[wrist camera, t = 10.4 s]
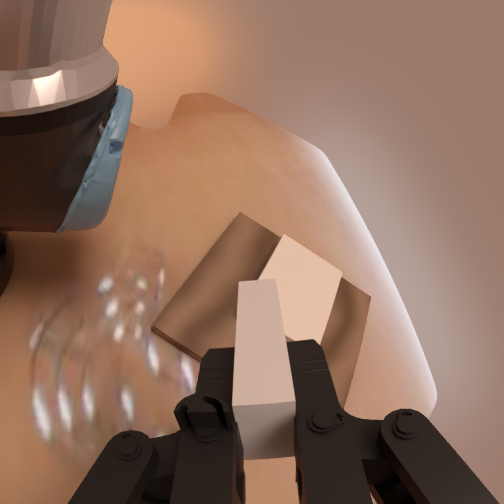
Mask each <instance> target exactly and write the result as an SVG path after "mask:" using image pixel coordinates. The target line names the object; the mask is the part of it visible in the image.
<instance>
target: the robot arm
mask: <svg viewBox="0 0 504 504" xmlns="http://www.w3.org/2000/svg"><path fill="white" fill-rule="evenodd" d="M111 3H112V0H0V296H1V294H2V293H3V291H4V289H5V287H6V285H7V283H8V280H9V278H10V274H11V271H12V265H13V249H12V245H11V241H10V239H9V236H8V233H7V231H27V232H54V233H61V232H63V231H73V230H89V229H92V228H95V227H97V226H98V225H99V224H100V223H101V222H102V221H103V220H104V218H105V216H106V215H107V212H108V209H109V206H110V203H111V199H112V195H113V192H114V187H115V183H116V179H117V175H118V170H119V166H120V161H121V154H122V153H121V150H122V148H123V146H124V140H125V137H126V134H127V130H128V126H129V120H130V116H131V111H132V104H133V93H132V92H131V90H130V89H127V88H124V86H121V85H117V86H116V83H117V77H118V72H119V66H118V63H117V61H116V60H115V59H114V57H113V56H112V55H111V54H110V53H109V52H108V50H107V49H106V48H105V47H104V46H103V38H104V33H105V28H106V24H107V19H108V15H109V11H110V7H111ZM174 414H175V417H176V419H177V421H178V424H179V426H180V428H181V430H179V431H177V432H176V433H173V434H170V435H166V436H162V437H157V438H152V439H150V438H149V437H148V436H147V435H146V434H144V433H142V432H140V431H133V430H130V431H124V432H121V433H119V434H117V435H115V436H114V437H113V438H112V439H111V440H110V441H109V442H108V443H107V445H106V446H105V448H104V449H103V451H102V452H101V454H100V455H99V457H98V459H97V460H96V462H95V463H94V465H93V466H92V468H91V469H90V471H89V472H88V474H87V475H86V477H85V478H84V480H83V481H82V483H81V484H80V486H79V487H78V489H77V491H76V492H75V494H74V495H73V497H72V498H71V500H70V501H69V503H68V504H245V473H244V469H243V463H244V460H255V459H270V458H282V457H292V456H295V459H296V482H297V487H298V496H299V504H373V502H372V498H371V494H372V496H373V498H374V499H375V501H376V502H377V504H499V503H498V501H497V500H496V499H495V498H494V497H493V496H492V494H491V493H490V492H489V491H488V490H487V488H486V487H485V486H484V484H483V483H482V482H481V481H480V480H479V479H478V477H477V476H476V475H475V474H474V473H473V471H472V470H471V469H470V468H469V467H468V465H467V464H466V463H465V462H464V461H463V460H462V458H461V457H460V456H459V455H458V454H457V453H456V451H455V450H454V449H453V448H452V447H451V445H450V444H449V443H448V442H447V441H446V440H445V438H444V437H443V436H442V435H441V434H440V433H439V432H438V430H437V429H436V428H435V427H434V426H433V425H432V423H431V422H430V421H429V420H428V419H427V418H426V417H425V416H424V415H423V414H421V413H420V412H418V411H415V410H412V409H399V410H395V411H392V412H391V413H390V414H388V415H387V416H386V417H385V418H384V420H369V419H361V418H357V417H354V416H351V415H350V414H348V413H347V412H345V411H344V409H343V408H342V407H341V405H340V403H339V401H338V397H337V394H336V390H335V387H334V384H333V380H332V377H331V374H330V370H329V367H328V364H327V361H326V357H325V354H324V351H323V348H322V347H321V346H320V345H319V344H318V343H317V342H316V341H315V340H314V339H308V340H300V341H290V342H286V338H285V332H284V326H283V320H282V314H281V308H280V302H279V297H278V291H277V285H276V279H264V280H252V281H241V282H239V287H238V304H237V321H236V339H235V347H228V348H210V349H209V350H208V351H207V352H206V353H205V355H204V356H203V357H202V359H201V364H200V372H199V375H198V381H197V387H196V393H195V394H192V395H190V396H188V397H185V398H184V399H182V400H181V401H180V402H179V403H178V404H177V406H176V408H175V410H174ZM370 493H371V494H370Z"/></svg>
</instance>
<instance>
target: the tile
mask: <svg viewBox="0 0 504 504" xmlns="http://www.w3.org/2000/svg"><path fill="white" fill-rule="evenodd" d="M341 276H342V272H341V271H340V270H338V269H337V268H335V267H334V266H332V265H331V264H329V263H328V262H326V261H325V260H323V259H322V258H320V257H319V256H317V255H316V254H314V253H312V252H311V251H309V250H308V249H306V248H305V247H303V246H302V245H300V244H299V243H297V242H296V241H294V240H292V239H291V238H289V237H288V236H286V235H285V234H284V235H283V236H282V237H281V239H280V240H279V242H278V243H277V245H276V247H275V248H274V250H273V252H272V254H271V256H270V257H269V259H268V261H267V263H266V264H265V266H264V268H263V270H262V271H261V273H260V275H259V277H258V278H257V280H264V279H276V285H277V291H278V297H279V302H280V308H281V314H282V320H283V326H284V332H285V338H286V342H290V341H300V340H308V339H314V340H315V341H316V342H317V343H318V344H319V345H320V343H321V340H322V337H323V334H324V331H325V328H326V325H327V322H328V319H329V316H330V312H331V309H332V306H333V303H334V300H335V296H336V293H337V290H338V286H339V283H340V279H341ZM236 317H237V315H236Z"/></svg>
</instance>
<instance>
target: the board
mask: <svg viewBox="0 0 504 504" xmlns="http://www.w3.org/2000/svg"><path fill="white" fill-rule="evenodd" d="M280 239H281V238H280V237H279V236H277V235H276V234H274V233H273V232H271V231H269V230H268V229H266V228H265V227H263V226H262V225H260V224H258V223H257V222H255V221H254V220H252V219H250V218H249V217H247V216H246V215H244V214H243V213H241V212H240V213H239V214H238V215H237V217H236V218H235V219H234V220H233V222H232V223H231V224H230V225H229V227H228V228H227V229H226V231H225V232H224V233H223V234H222V236H221V237H220V238H219V239H218V241H217V242H216V243H215V244H214V246H213V247H212V248H211V250H210V251H209V252H208V253H207V255H206V256H205V257H204V259H203V260H202V261H201V262H200V264H199V265H198V266H197V268H196V269H195V270H194V272H193V273H192V274H191V275H190V277H189V278H188V279H187V281H186V282H185V283H184V285H183V286H182V287H181V289H180V290H179V291H178V292H177V294H176V295H175V296H174V298H173V299H172V300H171V302H170V303H169V304H168V306H167V307H166V308H165V310H164V311H163V312H162V314H161V315H160V316H159V318H158V319H157V320H156V322H155V323H154V324H153V327H152V331H153V332H155V333H156V334H158V335H159V336H161V337H162V338H164V339H165V340H167V341H168V342H170V343H171V344H173V345H174V346H176V347H177V348H179V349H180V350H182V351H183V352H185V353H187V354H188V355H190V356H191V357H193V358H195V359H196V360H198V361H199V362H201V359H202V357H203V356H204V355H205V353H206V352H207V351H208V350H209V349H210V348H228V347H235V339H236V321H237V317H236V315H237V304H238V287H239V282H241V281H252V280H257V278H258V277H259V275H260V273H261V271H262V270H263V268H264V266H265V264H266V263H267V261H268V259H269V257H270V256H271V254H272V252H273V250H274V248H275V247H276V245H277V243H278V242H279V240H280ZM370 300H371V297H370V296H369V295H367V294H366V293H364V292H363V291H361V290H360V289H358V288H357V287H355V286H354V285H352V284H351V283H349V282H348V281H346V280H345V279H343V278H342V277H341V279H340V283H339V286H338V290H337V293H336V296H335V300H334V303H333V306H332V309H331V312H330V316H329V319H328V322H327V325H326V328H325V331H324V334H323V337H322V340H321V343H320V346H321V347H322V348H323V351H324V354H325V357H326V361H327V364H328V367H329V370H330V374H331V377H332V380H333V384H334V387H335V390H336V394H337V397H338V401H339V403H340V405H341V407H342V408H343V409H344V406H345V402H346V399H347V396H348V392H349V389H350V385H351V381H352V378H353V374H354V370H355V366H356V363H357V359H358V355H359V350H360V346H361V342H362V338H363V333H364V329H365V324H366V319H367V315H368V310H369V305H370Z"/></svg>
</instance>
